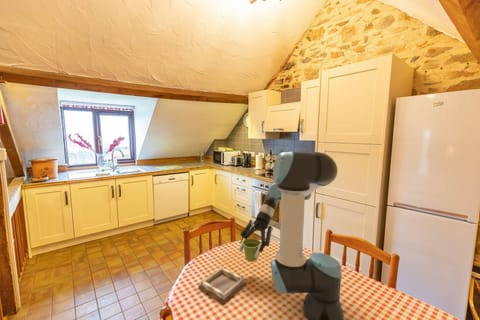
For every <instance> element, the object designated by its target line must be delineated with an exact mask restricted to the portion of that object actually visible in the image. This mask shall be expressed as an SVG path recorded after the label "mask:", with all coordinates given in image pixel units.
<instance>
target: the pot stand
mask: <svg viewBox="0 0 480 320" xmlns="http://www.w3.org/2000/svg"><path fill="white" fill-rule="evenodd" d="M247 284H248V282H246V281H245V278H244V277H241V276H240V275H238V274H236V273H234V272H232V271H230V270H229V269H226V267H225V268H224V267H222V266H221V267H220V268H219V269H217V270H216V271H214V272H213V273H211V274H210V275H208V276H207V277H205V278H204V279H202V280H201V281H200V284H199V285H198V289H200V290H201V291H203V292H205V293H206V294H207V295H209V296H211V297H213V298H214V299H215V300H216V301H219V302H220V303H221V304H226V303H228V301H230V299H231V298H233V297H234V296H235V295H236V294H237V293H238V292H240V291H241V290H242V289H243V288H244V287H245V286H246V285H247Z"/></svg>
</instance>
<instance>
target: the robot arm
mask: <svg viewBox="0 0 480 320" xmlns="http://www.w3.org/2000/svg"><path fill="white" fill-rule="evenodd" d="M272 175H273V176H272V180H273V183H272V184H271V185H270V186H269V188H268V190H267V192H266V195H265V198H264V201H263V202H262V204H261V207H260V209H259V212H258V213H257V215H256V219H255V220H254V221H253V220H252V219H250V220H249V221H248V224H247V225H246V226H245V227H244V229H243V230H242V232H241V233H240V237H242V238H241V240H240V242H239V243H240V245H239V248H238V249H237V250H238V251H239V252H240V253H242V252H243V250H244V247H243V244H242V242H243V241H244V240H246V239H249V237H250V236H251V235H252V234H253V233H255V232H257V231H258V232H260V235H261V236H260V239H261V241H260V242H261V244H259V247H258V249H257V251H256V254H255V257H256V258H257V260H258V259H259V257H260V254H261V253H263V251H264V250H265V249H264V248H265V247H270V242H271V237H272V231H273V229H274V228H273V227H272V225H269V224H270V223H271V220H272V218H273V216H274V213H275V211H276V209H277V206H278V204H279V202H280V228H279V250H278V251H277V252H276V253H275V256H274V257H275V258H274V259H271V260H270V270H271V276H272V280H273V281H272V283H273V285H274V289H275V291H276V292H278V293H279V294H287V295H288V294H306V295H305V298H304V300H303V302H302V311H303V314H304V316H305V317H306V318H307V320H344V310H343V308H342V303H341V300H340V297H341V283H342V277H343V275H342V266H341V263H340V262H339V260H337V259H336V258H334V257H332V256H331V255H328V254H326V253H323V252H313V253H311V254H310V255H309V258H308V259H307V258H306V256H305V255H304V254H303V251H304V250H303V249H304V248H303V245H304V226H305V201H309V200H310V199H311V196H312V193H313V192H315V191H316V190H318V189H319V188H321V187H326V186H329V184H331V183H333V181H335V179H336V177H337V175H338V166H337V163H336V162H335V159H333V158H332V157H331V156H330V155H328V154H327V153H323V152H320V151H314V152H311V151H284V152H282V151H281V152H280V153H278V154H277V156H276V158H275V160H274V164H273V171H272Z"/></svg>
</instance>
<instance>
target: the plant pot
mask: <svg viewBox="0 0 480 320" xmlns="http://www.w3.org/2000/svg"><path fill="white" fill-rule="evenodd" d="M242 244H243V247H244V248H243V250H244V251H243V252H244V257H245V260H246V261H247V262H249V263H254V262H255V261H258V259H257V258H256V257H255V254H256V251H257V249H258V247H259V244H261V241H260V240H259V239H256V238H247V239H246V240H244V241H243V242H242ZM261 245H262V244H261Z"/></svg>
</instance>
